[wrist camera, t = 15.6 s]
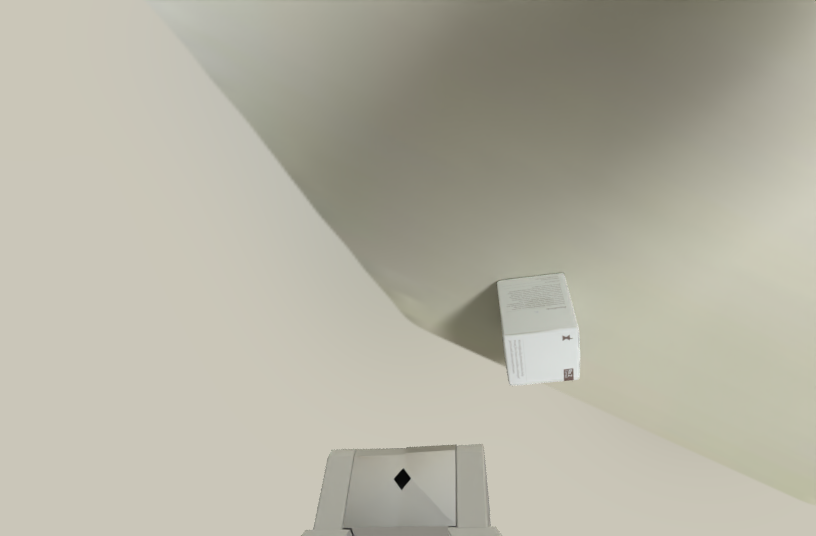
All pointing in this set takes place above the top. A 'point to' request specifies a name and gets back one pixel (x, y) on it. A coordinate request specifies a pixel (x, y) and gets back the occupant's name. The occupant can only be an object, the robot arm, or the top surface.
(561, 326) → the skincare box
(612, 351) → the top surface
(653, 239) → the top surface
